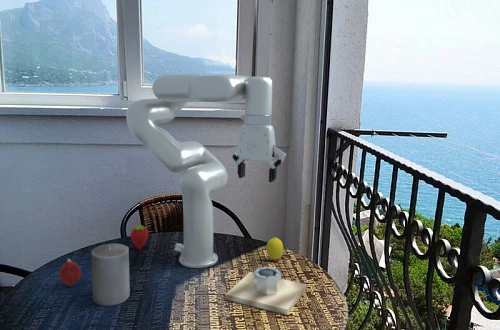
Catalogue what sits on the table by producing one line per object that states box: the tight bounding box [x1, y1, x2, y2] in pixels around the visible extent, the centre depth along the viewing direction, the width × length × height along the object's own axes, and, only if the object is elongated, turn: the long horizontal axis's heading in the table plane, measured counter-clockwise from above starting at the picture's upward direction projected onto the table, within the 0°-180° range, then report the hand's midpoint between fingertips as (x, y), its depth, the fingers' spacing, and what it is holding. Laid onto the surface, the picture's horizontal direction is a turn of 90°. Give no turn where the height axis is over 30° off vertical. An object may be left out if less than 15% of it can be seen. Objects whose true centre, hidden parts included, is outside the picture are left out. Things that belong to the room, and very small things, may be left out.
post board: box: [224, 270, 308, 316], centre depth 128 cm, size 18×16×6 cm
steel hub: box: [253, 266, 282, 296], centre depth 128 cm, size 7×7×5 cm
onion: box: [58, 258, 82, 287], centre depth 130 cm, size 6×6×8 cm
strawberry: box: [130, 224, 149, 250], centre depth 158 cm, size 6×8×10 cm
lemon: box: [266, 236, 284, 261], centre depth 151 cm, size 6×6×8 cm
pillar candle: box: [90, 243, 131, 307], centre depth 123 cm, size 10×10×15 cm
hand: (256, 179), depth 134 cm, fingers open, 9 cm apart
